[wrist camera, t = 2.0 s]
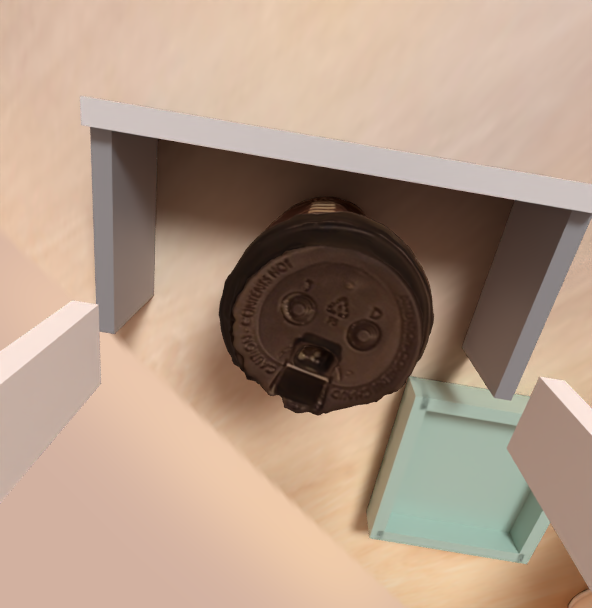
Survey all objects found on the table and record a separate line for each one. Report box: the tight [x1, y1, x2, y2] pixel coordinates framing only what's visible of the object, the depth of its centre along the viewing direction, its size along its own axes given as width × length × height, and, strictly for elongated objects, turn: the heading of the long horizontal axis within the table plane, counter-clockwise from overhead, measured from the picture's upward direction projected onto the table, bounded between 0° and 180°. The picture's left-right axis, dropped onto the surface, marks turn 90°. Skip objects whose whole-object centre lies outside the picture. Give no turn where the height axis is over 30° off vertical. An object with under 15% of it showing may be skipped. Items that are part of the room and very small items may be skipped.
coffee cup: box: [219, 197, 434, 415], centre depth 21 cm, size 9×8×13 cm
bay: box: [80, 96, 592, 401], centre depth 24 cm, size 24×12×7 cm, turn 81°
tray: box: [366, 376, 550, 564], centre depth 32 cm, size 13×14×2 cm
